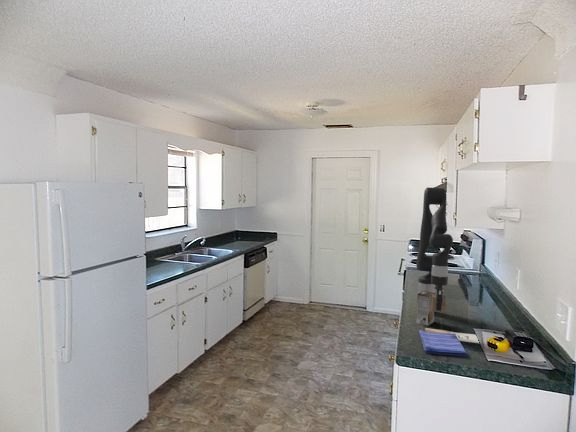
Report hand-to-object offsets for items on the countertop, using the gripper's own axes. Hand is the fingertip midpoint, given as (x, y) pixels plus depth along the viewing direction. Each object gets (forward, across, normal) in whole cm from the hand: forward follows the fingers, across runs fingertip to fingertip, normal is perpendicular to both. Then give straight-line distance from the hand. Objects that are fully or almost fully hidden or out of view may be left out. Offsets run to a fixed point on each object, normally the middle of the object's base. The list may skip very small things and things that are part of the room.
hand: (438, 308), depth 190 cm
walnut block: (+1, 0, 0) cm, 1 cm away
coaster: (+13, 0, 0) cm, 13 cm away
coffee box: (+13, -16, -5) cm, 21 cm away
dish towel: (+13, +16, +1) cm, 20 cm away
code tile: (+13, +1, +12) cm, 17 cm away
